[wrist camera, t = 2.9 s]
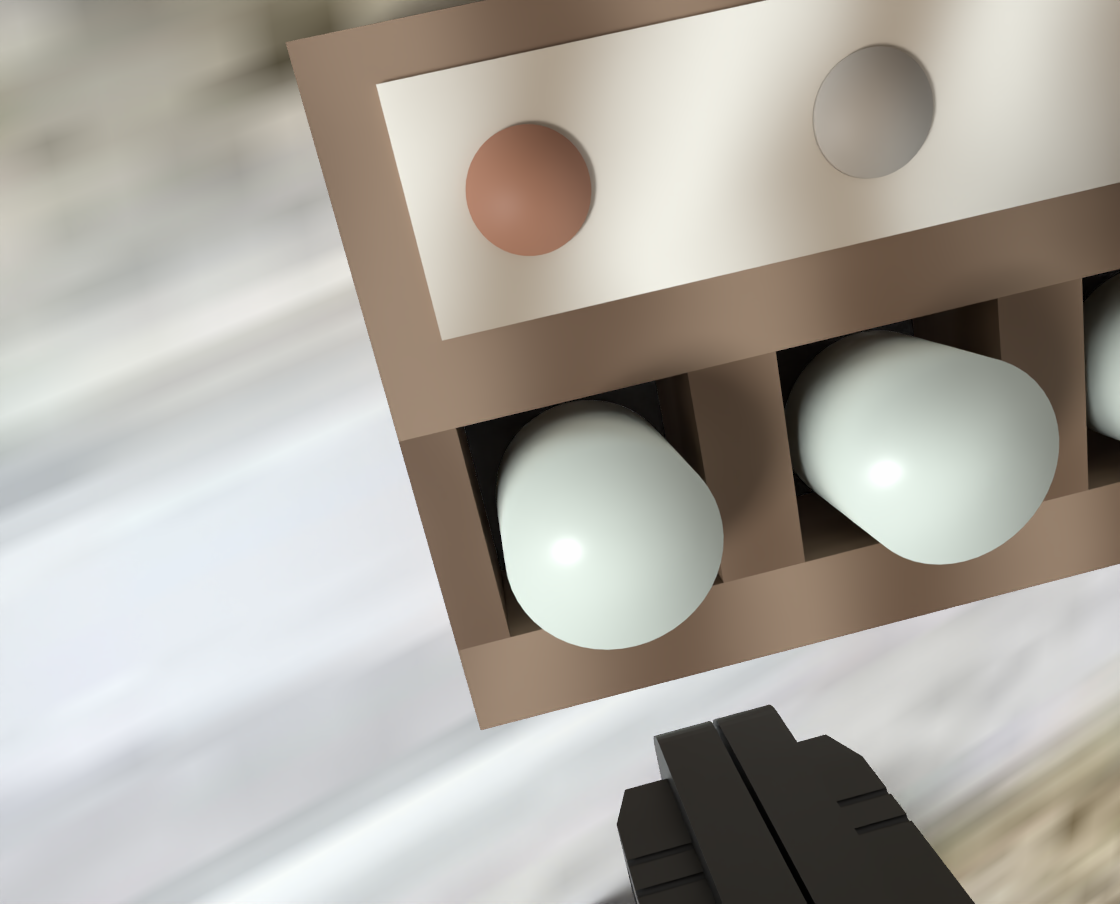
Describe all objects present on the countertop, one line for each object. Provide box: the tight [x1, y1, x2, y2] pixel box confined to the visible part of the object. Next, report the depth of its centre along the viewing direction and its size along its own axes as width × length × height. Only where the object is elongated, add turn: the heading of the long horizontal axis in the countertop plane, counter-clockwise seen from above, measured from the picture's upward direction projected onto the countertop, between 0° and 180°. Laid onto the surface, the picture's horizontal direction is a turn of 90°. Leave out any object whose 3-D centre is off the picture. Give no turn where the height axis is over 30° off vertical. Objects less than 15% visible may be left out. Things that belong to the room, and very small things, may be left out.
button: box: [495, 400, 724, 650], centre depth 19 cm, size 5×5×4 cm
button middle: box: [784, 330, 1059, 565], centre depth 20 cm, size 5×5×4 cm
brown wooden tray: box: [286, 0, 1120, 730], centre depth 21 cm, size 23×16×4 cm
